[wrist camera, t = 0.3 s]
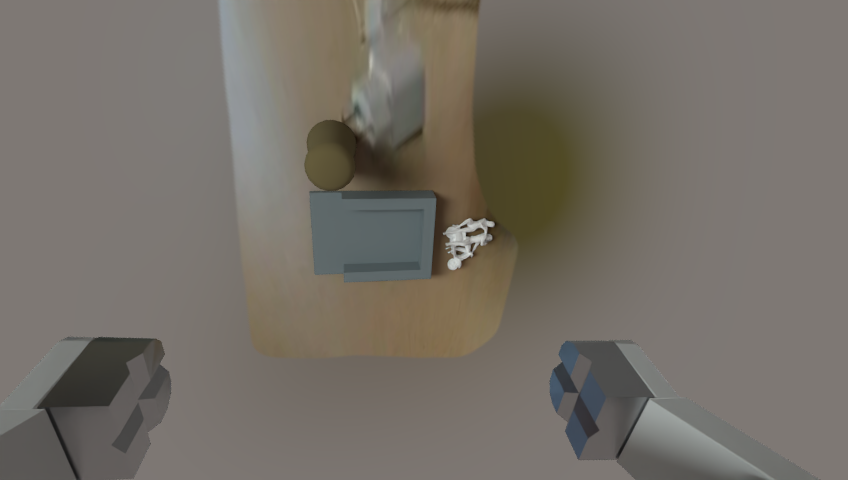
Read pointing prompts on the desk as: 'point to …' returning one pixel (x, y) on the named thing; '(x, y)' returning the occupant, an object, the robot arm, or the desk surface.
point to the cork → (330, 155)
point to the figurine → (466, 240)
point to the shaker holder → (373, 234)
